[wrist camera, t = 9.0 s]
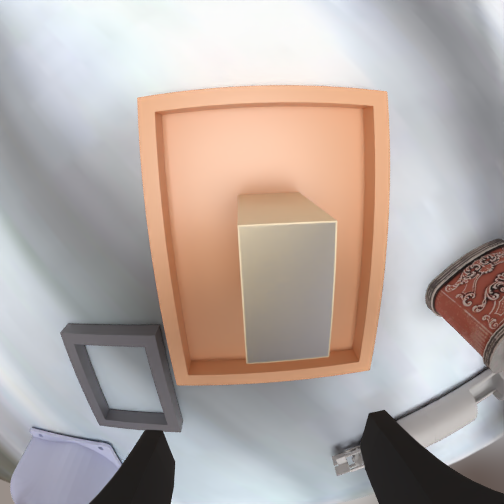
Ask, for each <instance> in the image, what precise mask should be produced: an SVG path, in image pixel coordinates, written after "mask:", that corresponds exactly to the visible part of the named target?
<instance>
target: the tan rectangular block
mask: <svg viewBox="0 0 504 504" xmlns="http://www.w3.org/2000/svg"><path fill="white" fill-rule="evenodd" d="M237 227H238V243H239V260H240V276H241V291H242V306H243V321H244V336H245V350H246V364H255V363H270V362H283V361H294V360H305V359H314V358H323V357H329V353H330V343H331V331H332V319H333V306H334V290H335V272H336V249H337V220H336V219H334V218H333V217H332V216H330V215H329V214H328V213H326V212H325V211H324V210H322V209H321V208H320V207H318V206H317V205H316V204H314V203H313V202H312V201H310V200H309V199H308V198H306V197H305V196H304V195H302V194H301V193H299V192H291V193H265V194H245V195H238V222H237Z"/></svg>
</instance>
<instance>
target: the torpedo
mask: <svg viewBox="0 0 504 504" xmlns="http://www.w3.org/2000/svg"><path fill="white" fill-rule="evenodd" d="M491 394H493V395H494V396H495V397H496V398H497V399H498V400H504V371H502V372H500V373H498V374H495V373H493V372H492V371H491V370H490V369H489V368H488V369H487V370H485V371H484V372H482V373H481V374H479V375H478V376H476V377H475V378H473V379H471V380H470V381H468V382H467V383H465V384H463V385H462V386H460V387H459V388H457V389H455V390H454V391H452V392H450V393H448V394H447V395H445V396H443V397H441V398H440V399H438V400H436V401H434V402H432V403H430V404H429V405H427V406H425V407H423V408H421V409H419V410H417V411H415V412H413V413H411V414H409V415H407V416H405V417H403V418H401V419H399V420H397V421H396V422H397V423H398V424H399V425H400V426H401V427H402V428H403V429H405V430H406V431H407V432H408V433H409V434H410V435H411V436H412V437H413V438H414V439H415V440H416V441H417V442H419V443H420V444H421V445H422V446H423V447H424V448H426V447H428V446H430V445H432V444H434V443H436V442H438V441H440V440H442V439H444V438H445V437H447V436H449V435H451V434H452V433H454V432H456V431H458V430H459V429H461V428H463V427H464V426H466V425H467V424H469V423H471V422H472V421H474V420H475V419H476V417H477V404H478V403H480V402H481V401H483V400H484V399H485V398H487V397H488V396H490V395H491ZM354 450H355V451H354ZM349 452H350V453H349ZM346 453H348V454H346ZM359 453H360V454H359ZM349 456H353V457H352V460H353V462H355V463H354V464H351V465H350V466H349V464H348V462H347V459H346V457H349ZM332 459H333V463H334V465H337V464H338V465H339V466H336V467H335V470H336V474H337V476H339V475H342V474H345V473H347V472H350V471H351V472H353V471H356V470H358V469H361V468H364V467H365V466H364V464H363V465H362V463H364V462H363V458H362V454H361V450H360V445H359V446H357V447H354V448H351V449H349V450H346V451H345V452H344V453H341V454H338V455H335V456H332ZM355 466H357V467H356V468H353V469H351V470H350V469H349V467H350V468H352V467H355Z"/></svg>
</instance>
